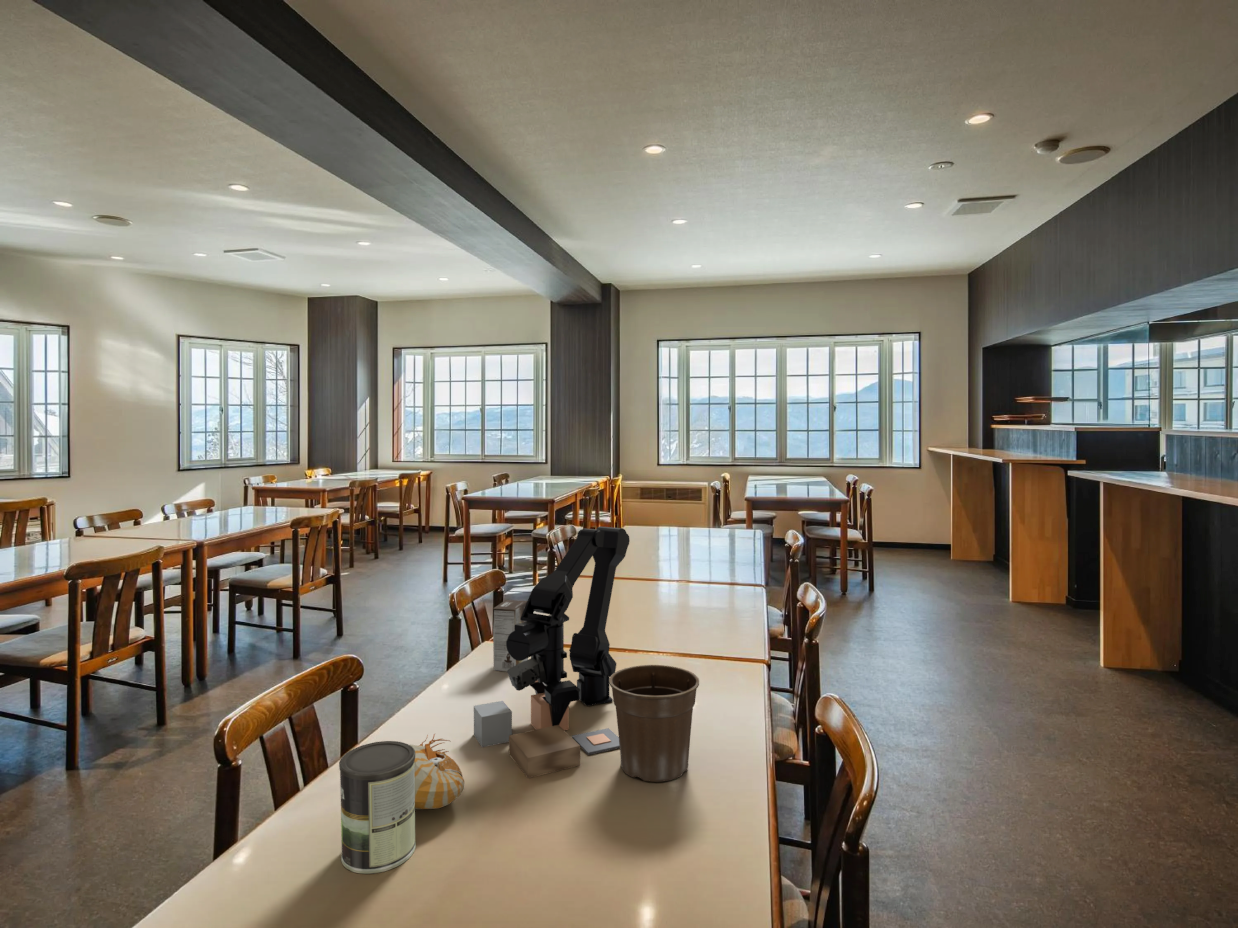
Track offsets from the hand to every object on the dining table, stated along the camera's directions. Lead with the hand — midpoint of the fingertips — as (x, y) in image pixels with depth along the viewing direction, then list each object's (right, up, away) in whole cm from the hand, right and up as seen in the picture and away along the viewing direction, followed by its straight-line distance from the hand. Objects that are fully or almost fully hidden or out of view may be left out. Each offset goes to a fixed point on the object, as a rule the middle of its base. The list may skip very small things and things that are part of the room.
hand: (549, 721), depth 142 cm
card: (+10, -1, -7) cm, 13 cm away
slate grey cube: (-11, -1, -5) cm, 12 cm away
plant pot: (+21, -2, -17) cm, 26 cm away
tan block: (0, -2, -14) cm, 14 cm away
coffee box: (-14, +1, +37) cm, 39 cm away
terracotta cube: (0, -1, 0) cm, 1 cm away
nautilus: (-18, -3, -26) cm, 31 cm away
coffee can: (-20, -3, -42) cm, 47 cm away
